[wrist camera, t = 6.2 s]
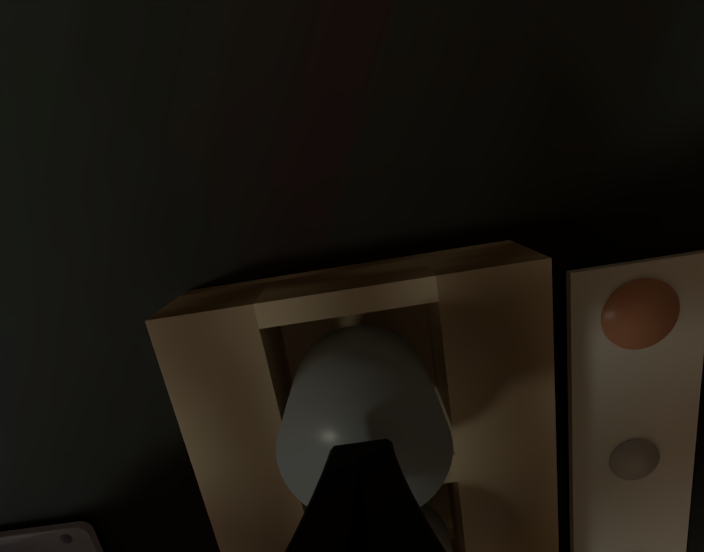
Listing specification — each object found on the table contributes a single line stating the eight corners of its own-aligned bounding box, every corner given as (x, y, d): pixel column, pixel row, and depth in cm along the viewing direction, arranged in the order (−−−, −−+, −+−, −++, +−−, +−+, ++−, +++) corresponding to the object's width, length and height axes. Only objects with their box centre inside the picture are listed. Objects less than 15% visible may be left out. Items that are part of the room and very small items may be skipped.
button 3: (307, 453, 13) (295, 533, 10) (281, 336, 12) (258, 389, 9) (435, 435, 13) (460, 512, 10) (421, 314, 12) (444, 362, 9)
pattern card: (570, 606, 18) (575, 615, 18) (565, 271, 14) (571, 273, 14) (676, 593, 18) (683, 603, 18) (704, 249, 14) (715, 251, 13)
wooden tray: (293, 659, 19) (283, 745, 16) (187, 290, 14) (144, 320, 11) (530, 633, 19) (562, 716, 16) (509, 239, 14) (551, 257, 11)
